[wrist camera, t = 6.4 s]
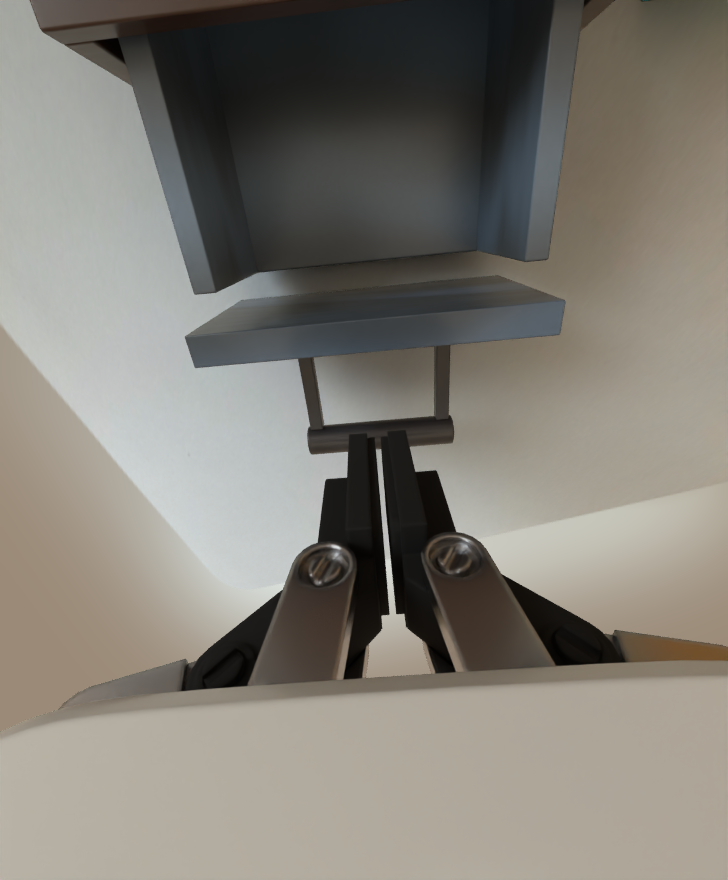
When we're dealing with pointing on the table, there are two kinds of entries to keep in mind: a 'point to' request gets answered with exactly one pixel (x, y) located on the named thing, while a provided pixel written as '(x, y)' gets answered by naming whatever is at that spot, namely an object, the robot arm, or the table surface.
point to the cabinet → (177, 20)
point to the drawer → (363, 175)
